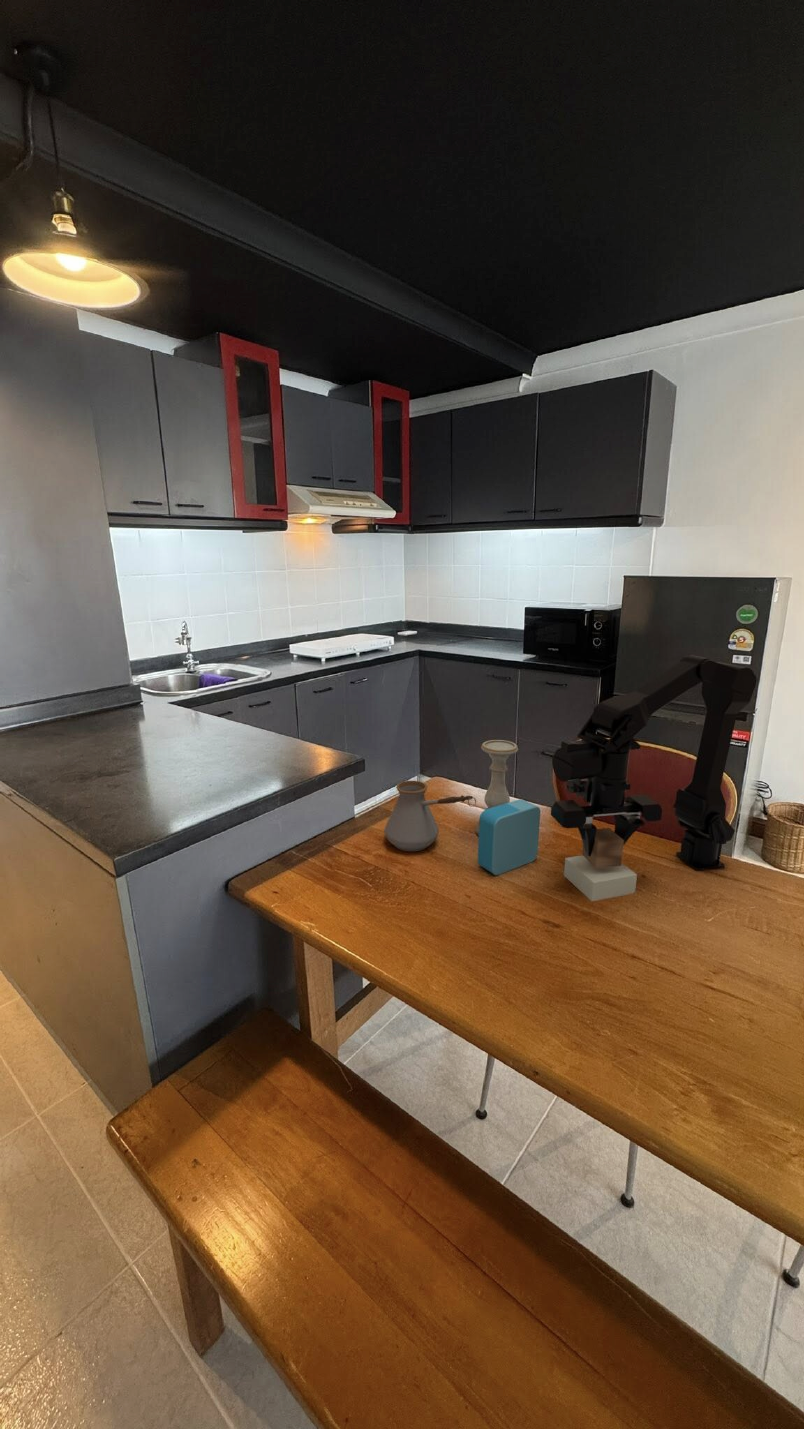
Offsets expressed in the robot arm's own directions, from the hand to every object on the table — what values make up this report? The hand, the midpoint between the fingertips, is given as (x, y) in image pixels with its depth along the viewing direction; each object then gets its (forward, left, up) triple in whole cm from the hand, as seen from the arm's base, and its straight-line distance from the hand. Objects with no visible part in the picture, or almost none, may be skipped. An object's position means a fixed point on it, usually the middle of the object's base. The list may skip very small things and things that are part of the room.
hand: (601, 853), depth 107 cm
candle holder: (+12, -23, -6) cm, 27 cm away
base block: (0, 0, -7) cm, 7 cm away
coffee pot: (+28, -18, -6) cm, 34 cm away
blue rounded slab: (+14, -10, -6) cm, 18 cm away
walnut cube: (0, 0, -1) cm, 1 cm away
